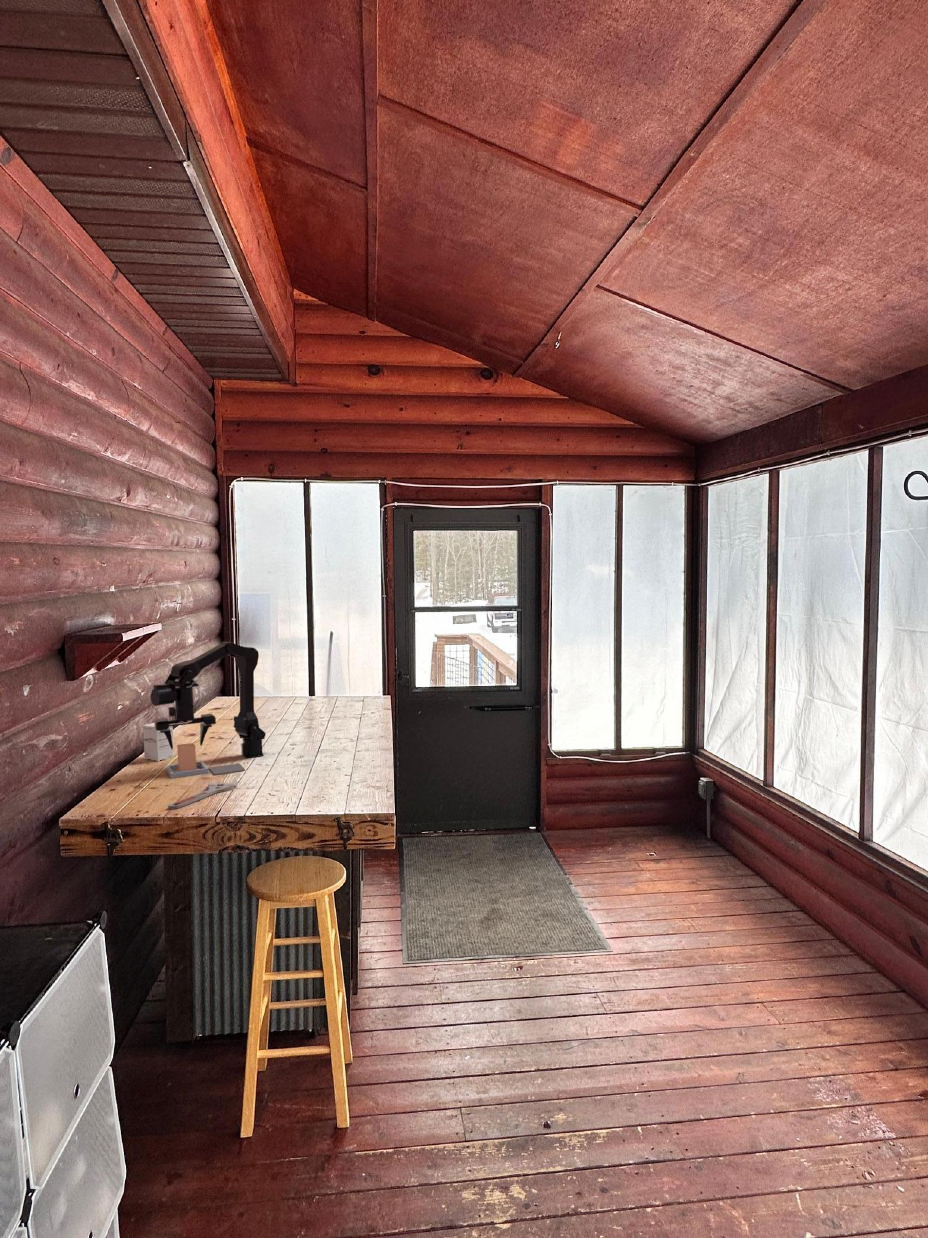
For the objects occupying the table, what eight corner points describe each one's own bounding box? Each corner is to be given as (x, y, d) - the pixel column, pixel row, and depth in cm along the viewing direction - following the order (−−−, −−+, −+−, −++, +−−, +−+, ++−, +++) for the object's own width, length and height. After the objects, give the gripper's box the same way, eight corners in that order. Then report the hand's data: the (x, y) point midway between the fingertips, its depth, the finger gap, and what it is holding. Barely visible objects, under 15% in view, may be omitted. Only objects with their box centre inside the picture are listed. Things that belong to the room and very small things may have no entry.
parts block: (194, 769, 249) (192, 743, 249) (196, 772, 245) (195, 745, 244) (178, 771, 247) (177, 744, 246) (180, 774, 242) (179, 747, 242)
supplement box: (143, 759, 263) (142, 725, 262) (160, 755, 270) (159, 721, 269) (157, 762, 260) (156, 726, 259) (174, 757, 266) (173, 722, 266)
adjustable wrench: (154, 808, 209) (154, 801, 209) (225, 783, 232) (224, 777, 232) (174, 813, 205) (173, 805, 205) (243, 787, 228) (243, 780, 228)
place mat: (239, 764, 254) (239, 763, 254) (245, 770, 245) (245, 769, 245) (209, 768, 249) (209, 767, 249) (214, 775, 240) (214, 774, 240)
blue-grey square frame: (202, 765, 254) (202, 761, 254) (208, 773, 244) (208, 768, 243) (166, 770, 248) (166, 766, 248) (171, 778, 238) (171, 773, 238)
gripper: (209, 695, 256) (211, 739, 257) (151, 700, 247) (153, 746, 248) (215, 699, 246) (217, 745, 247) (155, 705, 237) (157, 753, 238)
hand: (186, 747), depth 245 cm, fingers open, 9 cm apart
